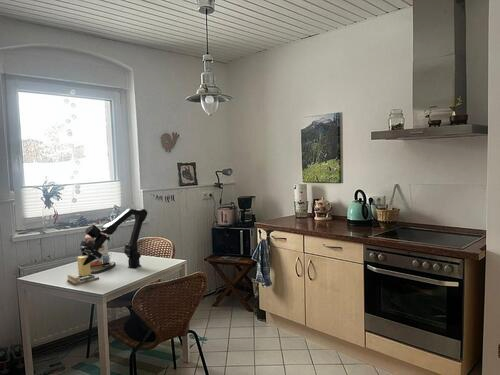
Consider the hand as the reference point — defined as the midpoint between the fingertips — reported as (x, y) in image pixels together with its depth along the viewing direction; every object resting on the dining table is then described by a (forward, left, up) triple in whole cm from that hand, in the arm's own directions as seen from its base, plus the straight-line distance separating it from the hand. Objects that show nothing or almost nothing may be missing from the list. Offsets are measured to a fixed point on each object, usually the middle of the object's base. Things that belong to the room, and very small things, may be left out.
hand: (81, 264), depth 222 cm
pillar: (-1, -1, -7) cm, 7 cm away
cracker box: (+16, -32, -10) cm, 37 cm away
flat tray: (-1, -1, -10) cm, 10 cm away
